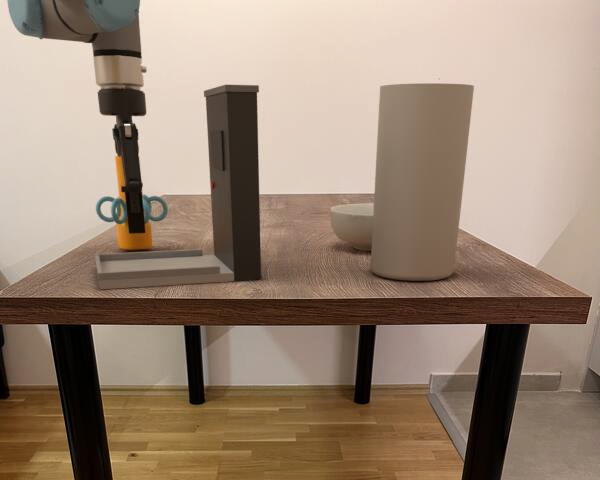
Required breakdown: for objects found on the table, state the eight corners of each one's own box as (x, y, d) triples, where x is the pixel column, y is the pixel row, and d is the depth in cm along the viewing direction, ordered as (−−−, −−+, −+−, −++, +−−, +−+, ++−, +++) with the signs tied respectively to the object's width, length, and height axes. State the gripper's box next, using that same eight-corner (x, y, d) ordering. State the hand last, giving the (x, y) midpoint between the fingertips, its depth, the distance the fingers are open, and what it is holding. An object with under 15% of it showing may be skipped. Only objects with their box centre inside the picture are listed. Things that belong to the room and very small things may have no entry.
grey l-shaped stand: (100, 289, 86) (72, 80, 75) (96, 268, 99) (72, 88, 89) (262, 279, 92) (258, 85, 82) (239, 260, 106) (232, 91, 95)
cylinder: (143, 254, 107) (134, 157, 101) (90, 250, 110) (79, 156, 104) (178, 244, 118) (172, 156, 111) (129, 241, 121) (121, 155, 114)
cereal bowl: (311, 246, 119) (311, 206, 116) (376, 238, 128) (378, 201, 125) (372, 259, 107) (374, 215, 104) (439, 250, 116) (443, 209, 113)
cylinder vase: (356, 268, 100) (364, 87, 89) (425, 263, 104) (441, 90, 93) (395, 284, 89) (409, 82, 79) (470, 278, 94) (493, 85, 83)
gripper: (152, 84, 94) (163, 237, 104) (138, 93, 115) (149, 220, 124) (99, 83, 92) (116, 238, 101) (95, 92, 113) (109, 221, 122)
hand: (134, 228), depth 113 cm, fingers closed on cylinder, 11 cm apart
